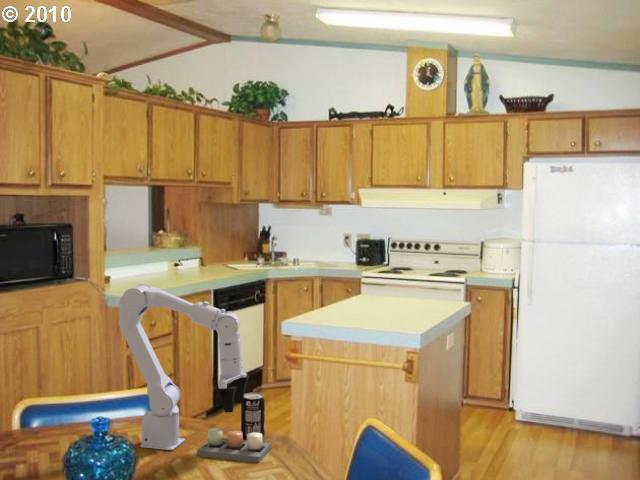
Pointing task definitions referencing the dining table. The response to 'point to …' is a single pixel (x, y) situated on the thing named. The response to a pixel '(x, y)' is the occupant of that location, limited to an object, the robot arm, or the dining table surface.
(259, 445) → the cream rounded piece
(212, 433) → the cap sage
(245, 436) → the beverage can
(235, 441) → the peach egg
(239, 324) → the robot arm
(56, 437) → the dining table surface
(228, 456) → the board
